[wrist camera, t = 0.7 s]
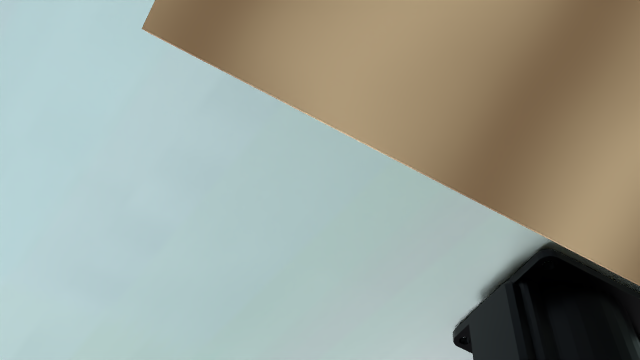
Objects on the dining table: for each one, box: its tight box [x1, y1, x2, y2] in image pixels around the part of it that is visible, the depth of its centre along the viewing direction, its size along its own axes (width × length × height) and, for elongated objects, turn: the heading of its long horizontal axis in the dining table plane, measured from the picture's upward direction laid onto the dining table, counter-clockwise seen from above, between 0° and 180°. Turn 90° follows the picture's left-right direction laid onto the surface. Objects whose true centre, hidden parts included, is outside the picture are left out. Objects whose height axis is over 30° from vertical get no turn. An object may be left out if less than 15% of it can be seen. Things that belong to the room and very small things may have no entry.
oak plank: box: [142, 0, 640, 286], centre depth 16 cm, size 20×9×1 cm
